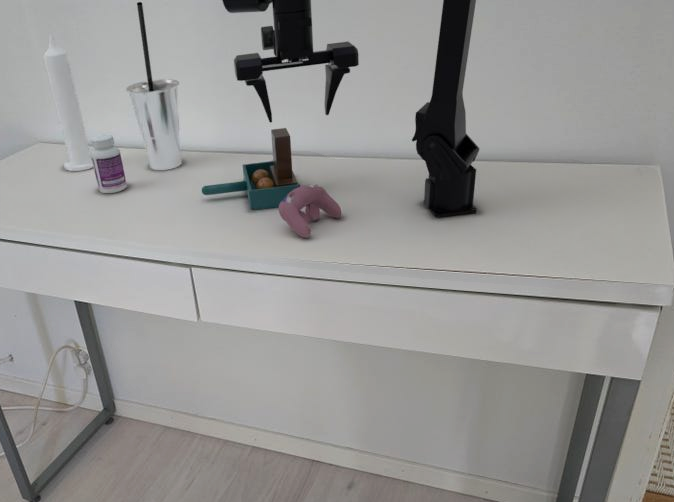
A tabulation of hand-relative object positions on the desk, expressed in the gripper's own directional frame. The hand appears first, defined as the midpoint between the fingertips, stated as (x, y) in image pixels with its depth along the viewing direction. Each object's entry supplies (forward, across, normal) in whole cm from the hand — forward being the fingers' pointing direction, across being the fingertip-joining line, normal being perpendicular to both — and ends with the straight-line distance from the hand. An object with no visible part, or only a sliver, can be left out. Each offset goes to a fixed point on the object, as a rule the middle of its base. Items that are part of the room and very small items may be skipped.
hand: (298, 118), depth 108 cm
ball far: (+11, +7, -5) cm, 13 cm away
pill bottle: (+12, +34, -14) cm, 39 cm away
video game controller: (+13, +1, +14) cm, 19 cm away
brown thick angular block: (+12, +3, -2) cm, 13 cm away
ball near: (+11, +6, 0) cm, 12 cm away
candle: (+12, +42, -31) cm, 54 cm away
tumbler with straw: (+12, +24, -24) cm, 36 cm away
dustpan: (+13, +9, -2) cm, 16 cm away
